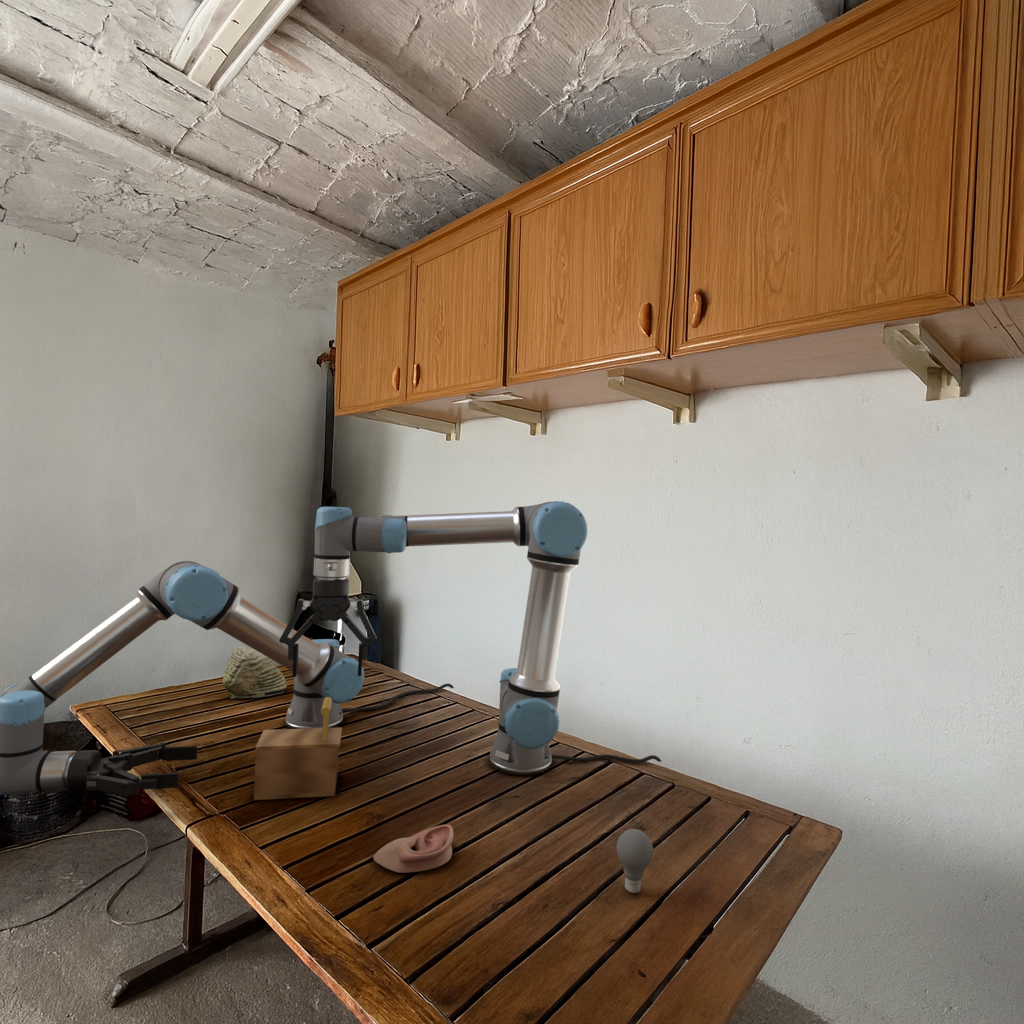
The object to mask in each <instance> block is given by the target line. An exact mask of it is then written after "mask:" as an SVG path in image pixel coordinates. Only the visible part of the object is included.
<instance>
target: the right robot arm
mask: <svg viewBox="0 0 1024 1024" xmlns="http://www.w3.org/2000/svg"><path fill="white" fill-rule="evenodd" d="M352 511H353V510H352V509H351V508H350V507H342V506H321V507H319V508H318V509H317V510H316V517H315V524H314V525H315V526H314V557H313V576H314V577H315V578H314V579H313V581H312V598H311V600H308V599H307V600H305V599H303V598H299V599H298V600H297V602H296V606H295V611H294V613H293V614H292V616H291V618H290V620H289V622H288V624H286V625H287V627H286V629H285V631H284V632H283V634H282V636H281V638H280V640H279V641H280V643H284V644H287V645H288V660H289V661H290V660H293V671H292V672H291V673H292V678H294V677H296V676H297V673H298V648H299V644H295V643H296V642H297V640H298V639H299V638H300V637H301V636H302V635H303V636H304V635H305V633H306V632H307V631H308V630H309V628H311V627H312V626H313V625H314V624H315V623H316V621H317V620H320V621H322V622H328V621H330V622H331V621H332V622H338V621H340V620H341V621H342V622H343V623H344V624H345V625H346V626H347V628H348V629H349V630H350V631H351V633H353V635H354V636H355V637H356V638H357V639H358V641H359V643H358V659H357V661H358V676H361V673H362V668H363V661H367V659H368V654H369V653H368V652H369V645H370V644H374V643H376V642H377V638H378V637H377V634H376V633H375V631H374V629H373V627H372V624H371V622H370V621H369V620H370V619H369V618H368V615H367V614H366V611H365V609H364V601H363V599H362V598H359V599H357V600H350V598H349V596H350V595H349V594H350V580H349V578H348V577H349V576H350V571H351V570H350V569H351V568H350V567H351V552H367V553H368V552H369V553H370V552H371V553H385V554H393V553H396V554H397V553H403V552H405V550H406V547H430V546H431V547H433V546H455V545H458V546H459V545H481V544H483V545H484V544H502V543H503V544H505V543H508V544H509V543H513V544H514V545H516V546H517V547H528V548H527V554H526V559H527V560H528V562H529V563H530V565H531V573H530V579H529V585H528V586H529V587H528V594H527V599H526V606H525V607H526V608H525V614H524V619H523V620H524V621H523V627H522V634H521V642H520V648H519V655H518V660H517V661H518V662H517V666H516V667H511V668H505V669H503V670H502V671H501V673H500V679H499V684H500V685H499V708H498V727H497V732H496V735H495V738H494V742H493V744H492V747H491V749H490V753H489V765H490V766H491V767H492V768H493V769H495V770H496V771H498V772H500V773H504V774H507V775H513V776H535V775H541V774H543V773H545V772H547V771H549V770H550V769H551V767H552V765H553V764H552V763H553V759H554V760H564V761H566V760H567V761H571V762H589V761H593V760H594V761H595V760H599V759H610V760H616V761H620V762H625V763H631V764H643V763H646V762H648V761H650V760H655V761H657V762H658V763H661V762H662V759H661V758H660V757H659V756H657V755H653V754H652V755H651V754H650V755H648V756H645V757H643V758H640V759H639V758H638V759H634V758H627V757H623V756H619V755H613V754H596V755H592V756H586V757H575V756H569V755H557V754H552V751H551V748H550V744H549V743H550V742H552V740H554V738H555V737H556V735H557V733H558V732H559V728H560V719H559V718H560V715H559V712H558V705H559V698H560V691H561V685H560V683H559V682H558V680H557V679H556V672H557V665H558V659H559V652H560V644H561V638H562V631H563V624H564V617H565V611H566V603H567V598H568V590H569V584H570V578H571V573H572V572H573V571H574V570H575V569H576V568H578V567H579V565H580V564H579V563H580V557H581V550H582V548H583V547H584V545H585V543H586V541H587V537H588V531H589V530H588V524H587V520H586V518H585V516H584V515H583V513H582V512H581V511H580V509H579V508H577V507H576V506H575V505H573V504H572V503H570V502H565V501H563V500H561V501H560V500H559V501H558V500H555V501H546V502H542V503H538V504H533V505H527V506H526V505H523V506H515V507H514V508H513V509H512V510H511V511H510V510H507V511H506V510H505V511H485V512H484V511H482V512H480V511H479V512H459V513H457V512H455V513H433V514H431V513H430V514H429V513H428V514H409V515H389V514H388V515H382V516H379V517H364V516H363V517H359V516H354V514H353V512H352ZM308 607H310V609H311V610H312V611H313V614H312V615H311V616H310V617H309V618H308V619H307V620H306V622H305V623H303V624H302V626H301V627H299V629H298V630H296V631H297V632H296V633H295V634H294V636H293V637H292V638H289V637H288V635H289V634H290V632H291V630H292V629H294V627H295V625H296V623H297V621H298V619H299V617H300V616H301V614H302V612H303V611H305V610H307V609H308ZM351 607H352V608H353V610H354V611H356V612H357V614H358V617H359V619H360V621H361V623H362V625H363V627H364V630H365V631H366V633H367V635H368V637H367V636H366V635H365V634H364V633H363V632H362V630H361V628H360V627H358V625H357V624H356V623H355V622H354V620H353V619H352V618H351V616H349V614H348V613H347V611H348V610H349V609H350V608H351Z"/></svg>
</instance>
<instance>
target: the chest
mask: <svg viewBox="0 0 1024 1024" xmlns="http://www.w3.org/2000/svg"><path fill="white" fill-rule="evenodd" d="M254 759H255V760H254V785H253V786H254V788H253V801H264V800H266V801H267V800H279V799H280V800H281V799H303V798H321V797H322V798H323V797H335V796H336V789H337V783H338V782H337V781H338V771H339V770H338V769H339V767H338V766H339V747H331V748H305V749H278V750H256V749H255V758H254Z"/></svg>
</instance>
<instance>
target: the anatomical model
mask: <svg viewBox="0 0 1024 1024" xmlns="http://www.w3.org/2000/svg"><path fill="white" fill-rule="evenodd" d="M454 834H455V833H454V829H453V826H452V825H450V824H441V825H437V826H433V827H430V828H427V829H425V830H422V831H420V832H418V833H416V834H414V835H411V836H409V837H399V838H397V839H393V840H392V841H390V842H388V843H387V844H385V845H383V846H382V847H381V848H379V850H377V851H376V852H375V853H374V855H373V856H372V857H373V861H374V862H375V863H377V864H378V865H380V866H381V867H383V868H384V869H386V870H389V871H392V872H395V873H398V874H399V873H401V874H405V873H406V874H407V873H408V874H409V873H417V872H423V871H429V870H432V869H436V868H439V867H441V866H443V865H444V864H447V863H448V862H449V861H450V860H451V859H452V855H453V846H452V844H453V842H454V836H455V835H454Z"/></svg>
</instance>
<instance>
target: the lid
mask: <svg viewBox="0 0 1024 1024" xmlns="http://www.w3.org/2000/svg"><path fill="white" fill-rule="evenodd" d="M331 703H332V699H331V698H330V697H326V698H325V699H324V701H323V705H322V709H321V714H322V715H324V718H323V728H309V729H289V728H282V729H263V730H262V733H261V735H260V737H259V739H258V741H257V743H256V746H255V751H256V750H278V749H305V748H331V747H338V748H340V747H341V741H342V733H343V727H335V728H328V722H329V713H330V708H331Z"/></svg>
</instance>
